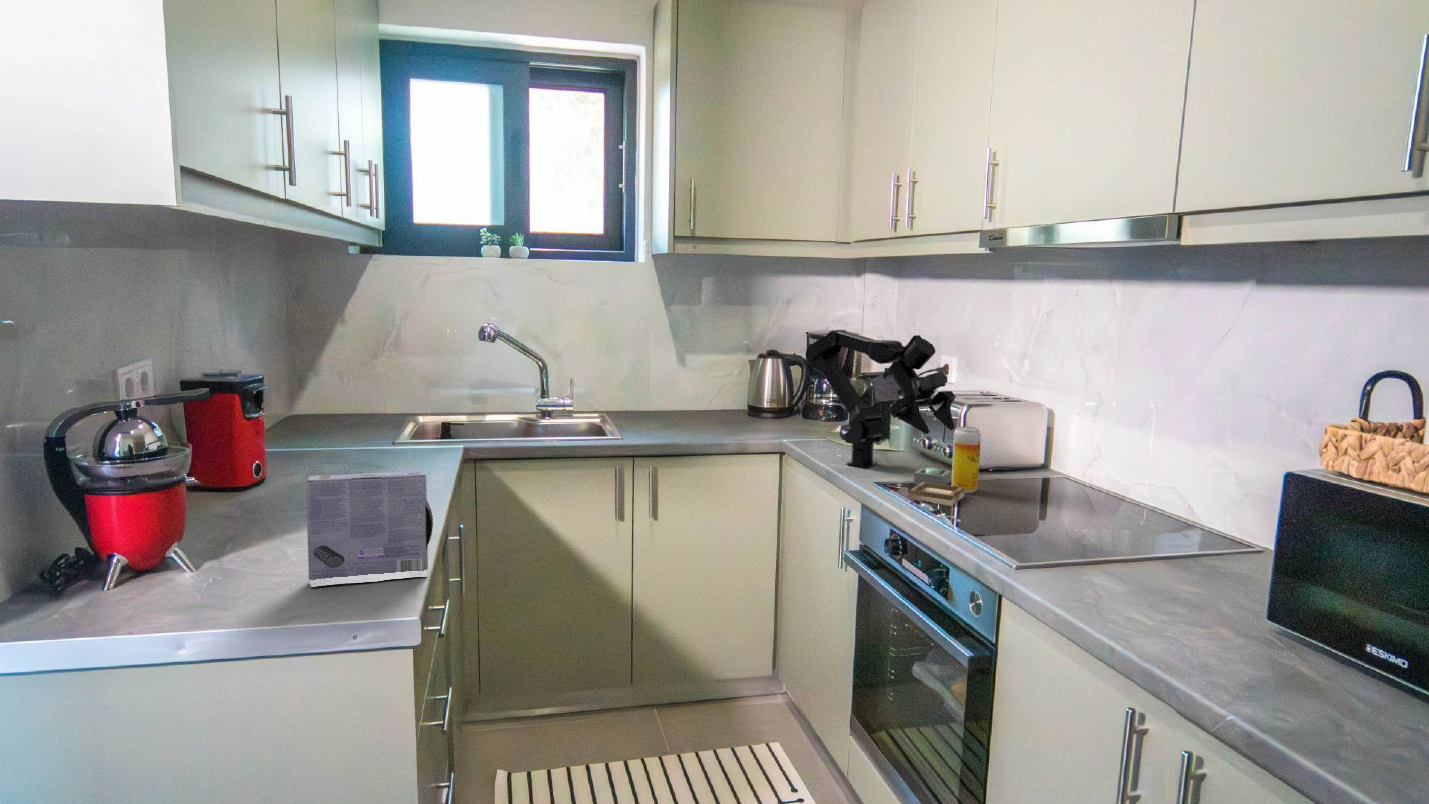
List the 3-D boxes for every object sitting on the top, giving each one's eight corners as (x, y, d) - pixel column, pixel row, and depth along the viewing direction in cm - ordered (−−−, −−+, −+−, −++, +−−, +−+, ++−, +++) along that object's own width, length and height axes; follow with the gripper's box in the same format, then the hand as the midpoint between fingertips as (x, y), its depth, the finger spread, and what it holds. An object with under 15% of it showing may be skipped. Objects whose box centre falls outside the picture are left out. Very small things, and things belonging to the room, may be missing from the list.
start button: (927, 476, 214) (928, 467, 214) (942, 478, 212) (942, 469, 212) (923, 479, 211) (923, 470, 211) (937, 481, 209) (938, 471, 209)
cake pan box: (434, 568, 148) (430, 467, 146) (435, 577, 144) (431, 473, 141) (312, 579, 142) (305, 474, 140) (308, 590, 137) (301, 481, 135)
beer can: (978, 494, 202) (982, 431, 200) (951, 493, 203) (955, 430, 201) (976, 488, 208) (979, 426, 205) (950, 486, 209) (953, 425, 207)
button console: (922, 479, 217) (923, 467, 216) (950, 482, 213) (951, 470, 212) (913, 484, 211) (914, 472, 210) (942, 488, 207) (942, 476, 207)
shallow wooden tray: (922, 490, 205) (922, 481, 205) (964, 496, 200) (964, 487, 200) (908, 499, 197) (908, 490, 196) (951, 505, 191) (952, 496, 191)
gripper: (900, 362, 206) (934, 414, 199) (951, 358, 217) (985, 407, 210) (875, 391, 214) (907, 442, 206) (925, 386, 224) (957, 434, 217)
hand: (940, 431), depth 210 cm, fingers open, 9 cm apart
